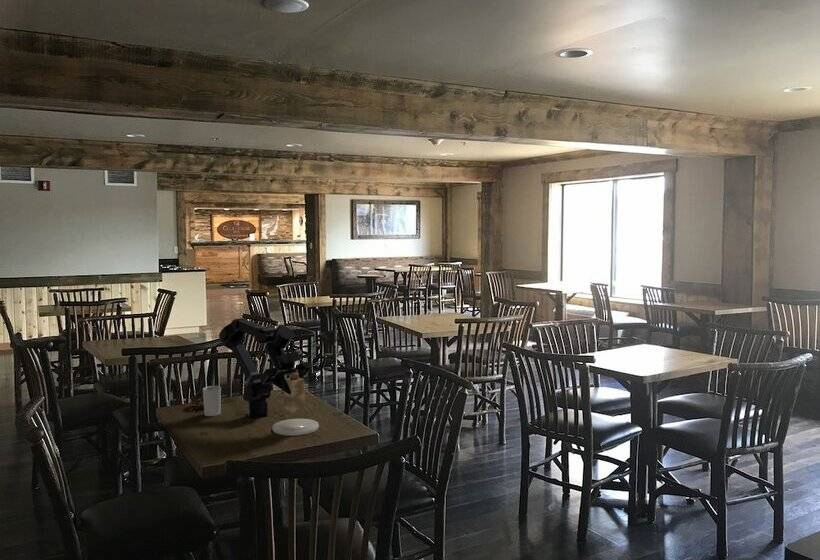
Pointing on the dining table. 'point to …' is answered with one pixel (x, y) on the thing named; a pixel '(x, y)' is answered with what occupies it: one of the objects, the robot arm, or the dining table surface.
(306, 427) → the cream plate
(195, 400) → the pottery mug
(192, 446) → the dining table surface
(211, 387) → the drinking glass
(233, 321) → the robot arm
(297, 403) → the pepper mill
